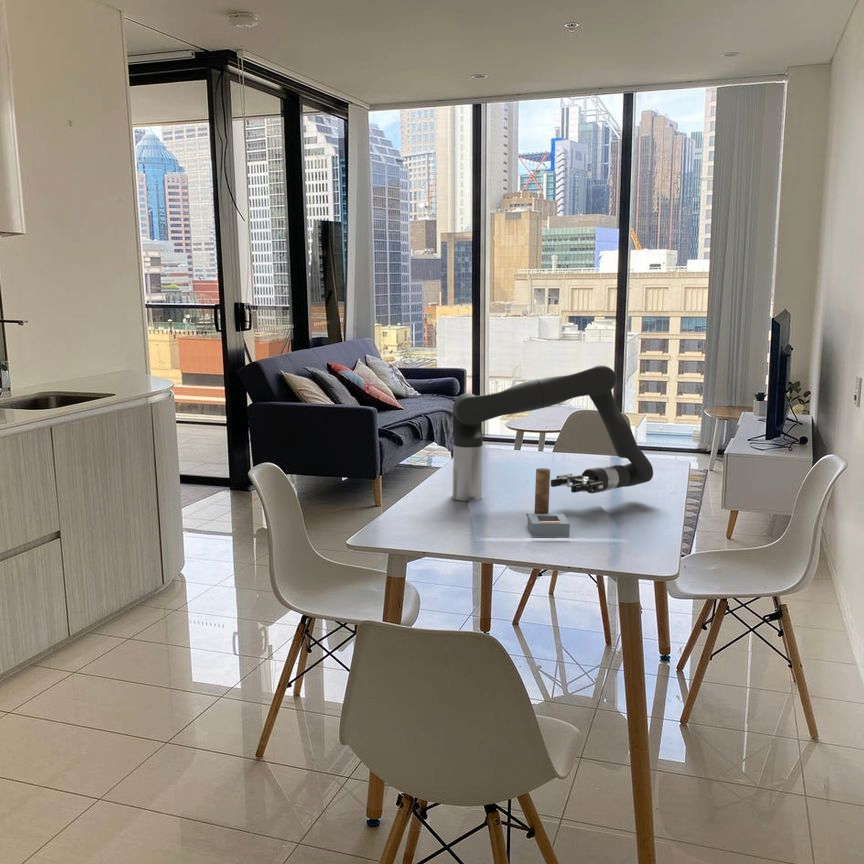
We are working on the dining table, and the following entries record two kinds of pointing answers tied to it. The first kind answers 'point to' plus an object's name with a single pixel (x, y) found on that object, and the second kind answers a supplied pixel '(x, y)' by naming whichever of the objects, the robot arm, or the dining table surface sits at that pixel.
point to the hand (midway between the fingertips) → (561, 486)
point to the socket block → (548, 524)
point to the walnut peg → (542, 491)
